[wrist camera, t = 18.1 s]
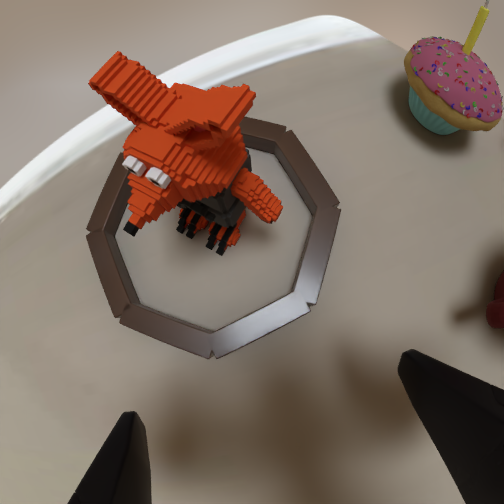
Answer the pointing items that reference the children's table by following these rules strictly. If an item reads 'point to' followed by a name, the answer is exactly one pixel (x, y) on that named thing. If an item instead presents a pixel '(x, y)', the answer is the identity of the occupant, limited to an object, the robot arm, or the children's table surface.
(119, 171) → the hoop
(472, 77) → the cupcake
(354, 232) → the children's table surface
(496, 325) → the mug
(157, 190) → the toy animal
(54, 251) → the children's table surface
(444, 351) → the children's table surface
